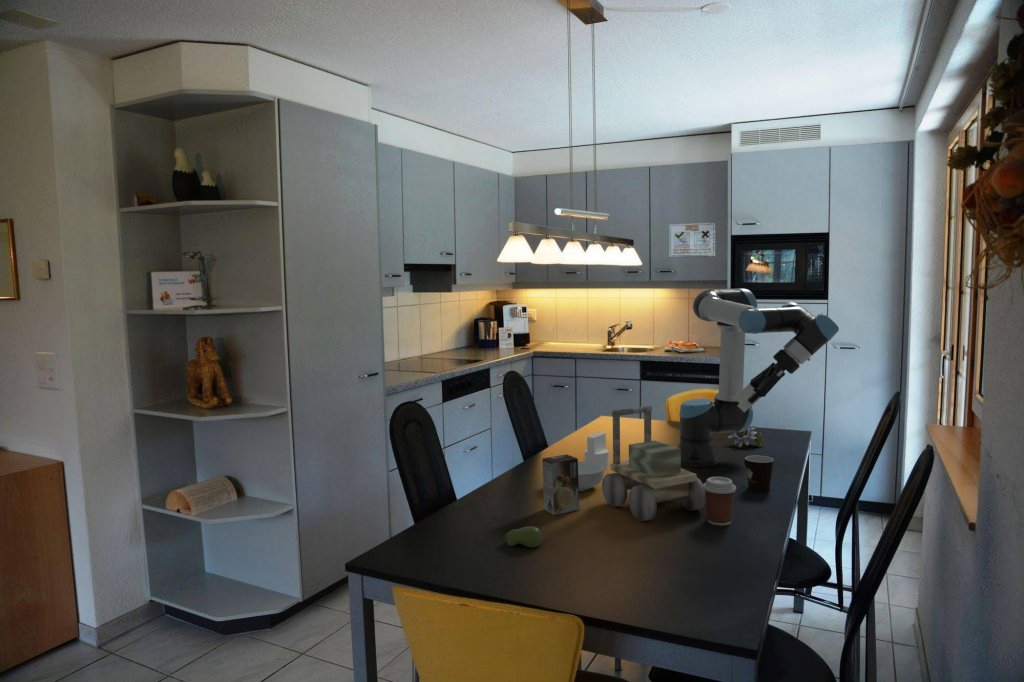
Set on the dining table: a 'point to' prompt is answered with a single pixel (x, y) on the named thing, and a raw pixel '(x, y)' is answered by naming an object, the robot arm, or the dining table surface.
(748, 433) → the passion flower
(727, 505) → the coffee cup
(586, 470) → the cereal bowl
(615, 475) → the wooden trolley
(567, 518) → the dining table surface
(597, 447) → the base with upright slab
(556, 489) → the coffee box
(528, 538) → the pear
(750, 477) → the coffee mug
